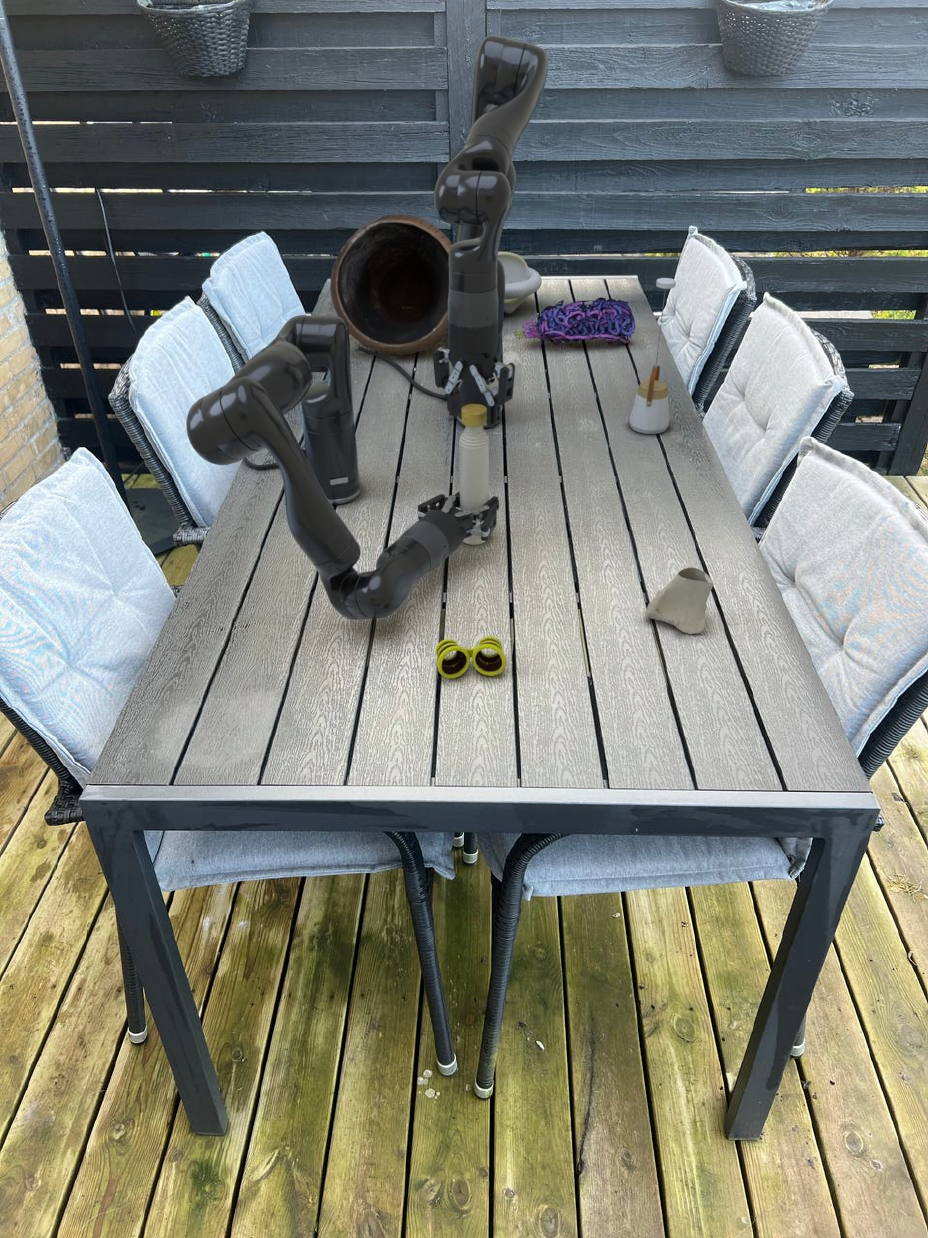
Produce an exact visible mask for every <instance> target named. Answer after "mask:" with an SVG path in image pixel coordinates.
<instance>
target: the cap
mask: <svg viewBox="0 0 928 1238" xmlns="http://www.w3.org/2000/svg"><path fill="white" fill-rule="evenodd" d="M486 422H487V408H486V407H485V406H483V405H480V404H469V405H465V406H464V407H462V424H464V425H465V426H464V427H466V426H468V427H480V426H483V425H485V424H486Z"/></svg>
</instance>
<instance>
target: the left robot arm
mask: <svg viewBox="0 0 928 1238" xmlns="http://www.w3.org/2000/svg"><path fill="white" fill-rule="evenodd" d="M350 339H351V338H350V334H349V330H348V326H347V324H346V322H345V320H344V319H343V318H341V317H338V315H337V316H335V315H313V314H312V315H311V314H310V315H309V314H308V315H306V314H302V315H301V314H300V315H296V316H292V317H291V318H289V319H288V320H287V321H286V322H285V323H284V325H283V326H282V328H281V329H280V330H279V332H278V333H277V335H276V336H275V337H274V339H272V340H271V341H270V342H269V343H268V345H266V346H265V347H264V348H262V349H261V350H259V351H258V352H257V353H256V354H255V355H254V356H253V355H252V357H251V358H250V359H249V360H248V361H247V362H245V364H244V365H243V366H242V367H241V368H240V369H239V370H237V372H236V373H235V374H234V375H233V376H232V377H231V378H230V379H229V381H228V382H227V383H226V384H225V385H222V386H221V387H219V388H216V389H215V390H213V391H212V392H210V393H208V394H206V395H205V396H203V397H201V398H199V399H197V400H196V401H195V402H194V403H193V404H192V405H191V407H190V408H189V410H188V413H187V416H186V425H185V427H186V434H187V438H188V440H189V443H190V445H191V447H192V448H193V450H194V452H195V453H196V454H197V455H198V456H199V457H201V458H202V459H203V460H205V461H206V462H208V463H210V464H213V465H217V466H228V465H233V464H236V463H238V462H240V461H242V460H243V462H244V463H245V464H246V465H247V466H248V467H250V468H252V469H255V470H264V469H272V468H279V471H280V474H281V478H282V482H283V488H284V503H285V514H286V515H285V516H286V522H287V525H288V528H289V531H290V534H291V536H292V539H294V540H295V542H296V544H297V545H298V547H299V549H301V551H303V553H304V555H306V557H307V558H308V560H309V561H310V562H311V564H312V565H313V567H315V568H316V570H317V572H318V576H319V578H320V582H321V584H322V586H323V588H324V590H325V593H326V596H327V598H328V600H329V602H330V605H331V607H333V609H334V610H335V611H336V612H337V613H338V614H339V615H340V616H342V617H343V618H345V619H347V620H352V621H360V620H374V619H375V620H376V619H384V618H387V617H389V616H392V615H394V613H396V612H397V611H399V609H400V608H401V607H402V606H403V604H404V603H405V601H406V600H407V598H408V596H409V594H410V593H411V591H412V590H413V587H414V586H415V585H416V584H418V582H419V581H421V580H422V579H423V578H424V577H425V576H426V575H428V574H429V573H431V571H434V570H435V569H436V568H438V566H439V565H441V564H442V563H443V562H444V561H445V560H447V558H449V557H450V556H451V555H452V554H453V553H455V551H456V550H458V549H459V547H460V546H461V545H462V543H463V540H464V539H465V538H468V537H470V536H472V535H478V536H481V540H482V541H486V542H487V541H489V538H490V537H491V535H492V533H493V532H494V529H495V528H496V527H497V523H498V521H497V519H498V517H497V515H498V514H497V513H498V510H500V500H499V496H496V495H492V497H491V498H489V501H487V502H486V503H485V504H484V506H481V507H479V508H477V509H476V508H475V507H473V508H470V509H468V510H465V511H462V510H460V490H459V491H458V492H456V493H455V494H454V495H453V494H451V495H449V496H446V494H444V493H440V494H437V495H435V496H434V497H432V498H429V499H428V500H426V501H424V502H422V503H419V504H418V505H417V519H418V520H417V521H416V522H414V523H413V524H412V525H411V526H410V527H409V528H407V529H405V531H403V533H402V534H401V535H400V536H399V537H398V538H397V539H395V541H394V542H392V544H390V545H389V546H387V547H386V548H384V550H383V551H382V552H381V553H380V554H379V556H378V557H377V559H376V562H375V569H374V570H368V571H359V572H358V571H357V570H356V569H355V567H354V566H355V565H356V564H357V563H358V562H359V560H360V557H361V554H362V553H361V550H362V549H361V547H360V544H359V542H358V540H357V539H356V537H355V536H354V535H353V533H352V531H350V529H349V528H348V526H347V525H346V523H345V522H344V520H343V519H342V518H341V516H340V515H339V513H337V511H336V509H335V508H334V505H343V504H348V503H350V502H352V501H354V500H355V499H357V498H358V497H360V495H361V493H362V487H361V483H360V473H359V472H360V470H359V458H358V447H357V438H356V436H357V435H356V424H355V415H354V401H353V384H352V370H351V369H352V368H351V340H350ZM313 373H322V374H323V373H325V374H326V373H327V374H329V377H328V378H325V379H323V380H322V381H318V382H315V383H313ZM312 383H313V384H312ZM298 405H299V409H300V416H301V425H302V432H303V440H304V445H302V446H301V445H300V443H299V441H298V439H297V438H296V436H295V434H294V432H293V430H292V429H291V426H290V424H289V422H288V420H287V419H286V417H285V415H287V414H288V413H289V412H291V411H292V410H293V409H295V408H296V407H297V406H298ZM264 449H267V451H268V452H269V454H271V456H272V457H273V458H274V460H275V462H273V463H266V464H265V463H264V464H254V463H252V462H251V461H250V460H249V459H248V457H250V456H252V455H254V454H256V453H259V452H260V451H262V450H264ZM437 504H438V505H437ZM480 514H482V517H480ZM471 515H472V517H471Z"/></svg>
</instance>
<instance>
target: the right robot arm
mask: <svg viewBox="0 0 928 1238" xmlns="http://www.w3.org/2000/svg"><path fill="white" fill-rule="evenodd" d="M548 72H549V57H548V53H547V51H546V50H545V49H544V48H542V47H540V46H539V45H536V44H533V43H529V42H526V41H522V40H518V39H517V40H516V39H514V38H509V37H505V36H501V35H495V34H493V35H492V34H490V35H487V36H486V37H484V38H483V39H482V41H481V43H480V45H479V47H478V51H477V53H476V59H475V65H474V72H473V83H472V97H471V99H472V100H471V111H470V113H471V115H470V129H469V132H468V134H467V137H466V139H465V142H464V145H463V148H462V150H460V152H459V153H457V154H456V156H455V157H454V158H453V159H451V161H450V162H448V163H447V165H445V167H444V168H443V170H442V171H441V172H440V173H439V176H438V178H437V179H436V183H435V186H434V190H433V197H432V198H433V200H432V201H433V207H434V211H435V213H436V215H437V216H438V217H439V219H440V220H441V221H443V223H446V224H449V225H455V226H457V228H456V229H457V230H456V235H455V240H454V243H452V244H453V245H452V246H451V248H450V250H449V272H448V281H447V291H448V333H447V334H448V335H447V339H448V342H447V344H448V347H449V349H448V347H447V346H446V345H443V346H441V347H439V348H437V349H434V350H433V352H432V364H433V372H434V384H435V387H436V388H438V389H440V388H441V389H443V390H444V392H445V394H440V393H436V392H433V391H431V390H429V389H427V388H425V387H423V386H422V385H420V384H419V383H417V382H416V381H415V380H414V378H413V377H412V376H411V375H410V374H409V373H408V372H407V371H406V370H405V369H404V368H403V367H402V366H401V365H399V364H398V363H397V362H395V361H393V360H392V359H390V358H389V357H387V356H385V355H384V354H382V353H380V352H377V351H374V350H372V349H369V348H365V347H362V346H357V350H358V351H361V352H364V353H367V354H369V355H372V356H374V357H377V358H379V359H381V360H383V361H385V362H387V363H388V364H390V365H391V366H393V367H394V368H396V369H397V370H398V371H399V372H400V373H401V374H402V375H403V376H404V377H405V378H406V379H407V380H408V381H409V382H410V383H411V385H412V386H414V387H415V388H416V389H417V390H419V391H421V392H422V393H424V394H426V395H429V396H430V397H434V398H436V399H442V400H446V409H447V412H448V414H449V416H451V417H453V419H454V420H456V421H457V422H458V424H460V425H461V426H463V427H466V426H465V425H464V424H462V407H464V406H465V405H469V404H480V405H483V406H485V407H486V408H487V422H486V424H485V425H483V429H487V428H493V427H495V426H497V425H498V424H500V423H501V421H502V410H503V406H504V405H505V404H506V403H508V402H509V401H511V400H513V397H514V386H515V375H516V374H515V373H516V365H515V363H514V362H510V363H508V364H506V363H503V362H502V351H503V350H502V348H503V347H502V345H503V343H502V342H503V330H504V315H505V314H504V313H505V312H504V300H505V272H504V268H503V265H502V263H501V261H500V260H499V259H498V252H499V249H500V244H501V238H502V234H503V231H504V227H505V224H506V221H507V219H508V218H509V216H510V214H511V212H512V207H513V203H514V196H515V191H516V185H517V172H516V169H515V165H514V163H513V160H512V159H513V156H514V153H515V149H516V147H517V145H518V142H519V140H520V139H521V137H522V134H523V133H524V132H525V130H526V128H527V127H528V125H529V123H530V121H531V120H532V118H533V116H534V114H535V113H536V111H537V109H538V107H539V104H540V102H541V100H542V97H543V94H544V91H545V87H546V84H547V83H546V82H547V77H548ZM450 364H451V366H452V367H453V370H452V371H451V370H450ZM450 371H451V373H450Z"/></svg>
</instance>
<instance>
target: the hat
mask: <svg viewBox="0 0 928 1238" xmlns="http://www.w3.org/2000/svg"><path fill="white" fill-rule="evenodd" d="M498 259H499V260H500V261H501V263H502V265H503V268H504V272H505V300H504V313H505V314H512V313H514V311H516V309H517V308H518V307H519V306H520V305H522V303H524V302H525V301H526V300H527V299H528V297H529V296H531V295H533V294H535V293H536V292H538V291H539V290H540V288H541V286H542V282H543V280H542V276H541V274H539V273H540V272H538V271H537V270H535V269H533V268H532V267H529V266H528V264H527V262H526V260H525V259H524V258H523V257H522V256H520V255H519V254H517V253H514V252H509V251H498Z"/></svg>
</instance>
